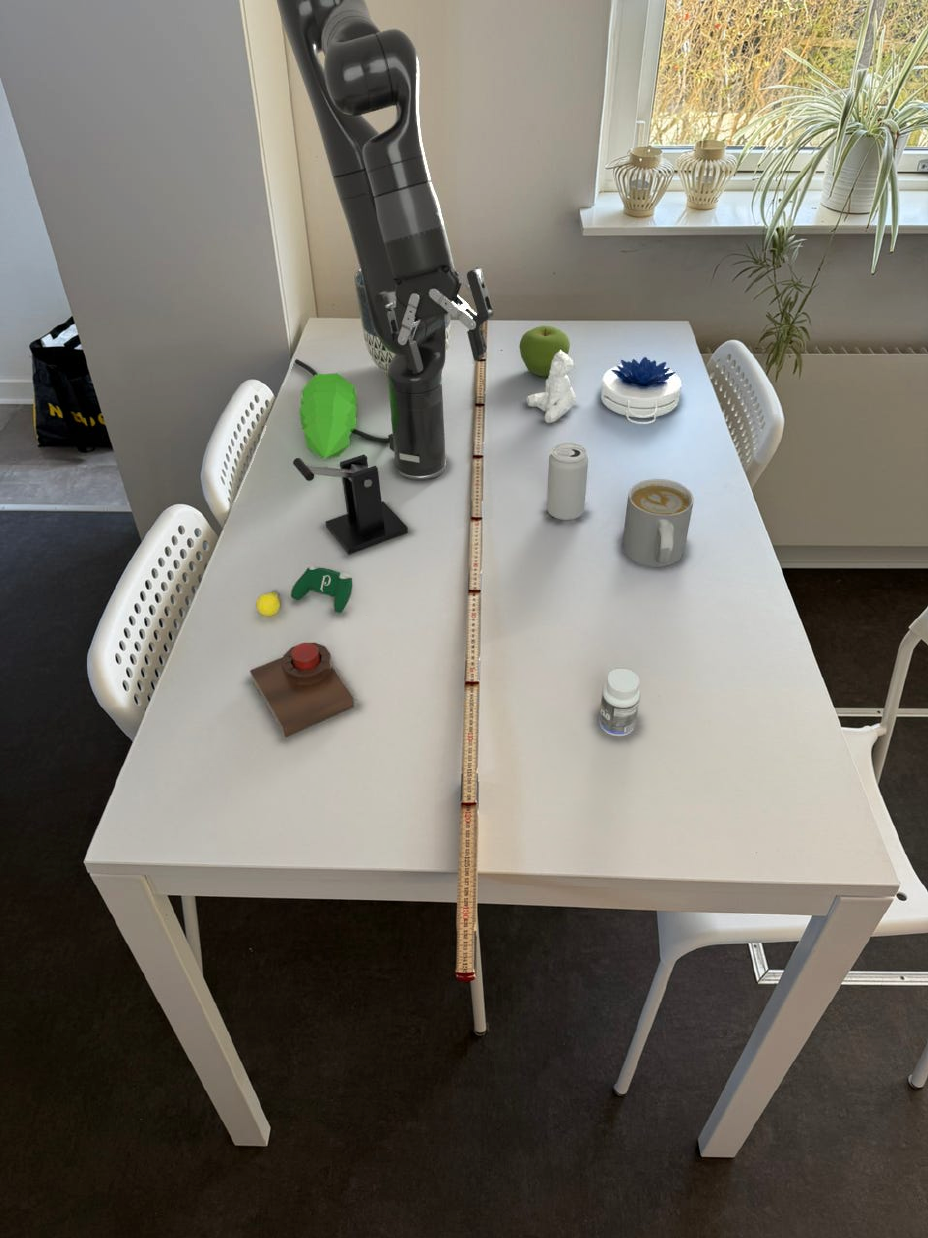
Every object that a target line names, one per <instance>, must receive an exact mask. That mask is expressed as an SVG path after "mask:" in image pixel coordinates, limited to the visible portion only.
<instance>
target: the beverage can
mask: <svg viewBox="0 0 928 1238" xmlns="http://www.w3.org/2000/svg"><path fill="white" fill-rule="evenodd" d="M588 467H589V457H588V455H587V449H586V448H585V447H584V446H583V445H580V444H579V443H578V444H577V443H572V442H564V443H559V444H557V445H555V446H554V447H552V449H551V452H550V455H549V457H548V470H547V471H548V473H547V496H546V511H547V513H548V514H549V515H550V516H551V517H553V518H554V519H557V520H559V521H573V520H575V519H577V518H579V517H581V516H582V515H583V514H584V512H585V508H586V494H587V482H588Z"/></svg>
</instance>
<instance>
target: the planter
mask: <svg viewBox="0 0 928 1238" xmlns="http://www.w3.org/2000/svg"><path fill="white" fill-rule="evenodd" d="M353 279H354V285H355V286H354V287H355V292H356V299H357V304H358V311H359V317H360V322H361V327H362V333H363V339H364V342H365V346H366V350H367V351H368V354H369V356H370V358H371V360H372V362H373V363H374V364H375V365H376V366H377V367H378V368H379V369H380V370H381V371H382V372H384V373H385V374H387V369H388V366H389V364H390V362H391V360H392V359H393V357H394V355H395V354H394V353H392V352H390V351H389V350H387V349H386V348H385V347H384V346H383V344H382V343H381V342H380V340H379V339H378V337H377V335H376V332H375V330H374V327H373V324H372V321H371V317H370V313H369V308H368V303H367V298H366V294H365V289H364V284H363V279H362V275H361V270H360V268H358V269H357V270H356V272H355V273H354V277H353ZM445 320H446V354H447V353H448V349H449V346H450V341H451V332H452V331H451V330H452V329H451V328H452V315H451V314H449V313H448V314H447V315H445Z"/></svg>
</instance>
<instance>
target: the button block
mask: <svg viewBox="0 0 928 1238" xmlns="http://www.w3.org/2000/svg"><path fill="white" fill-rule="evenodd" d="M302 643H303V642H302ZM302 643H300V644H302ZM310 643H311V644H314V645H315V646H316V647H317V648H318V652H319V657H320V661H319V663H318V665H317V666H316V667H314V668H312V669H310V670H299V669H297V668H296V667H295V666H294V664H293V660H292V655H291V653H292V650H293V649H294V648H295V647H296V646H297V645H298V644H297V645H293V646H291V647H290V648H289V649H288V650H287V651H286V652H285V653H284V654H283V655H282V657H279V658H277V659H275V660H272V661H270V662H267V663H265V664H262V665H259V666H257V667H254V668H252V669H250V670H249V672H250V675H251V679H252V682H253V683H254V686H255V687H256V689H257V691H258V692H259V694H260V696H261V697H262V700H263V701H264V703H265V705H266V706H267V709H268V710H269V711H270V714H271V716H272V717H273V719H274V720H275V722H276V724H277V725H278V727H279V730H280V731H281V732H282V734H283V736H284V737H285V738H288V737H289V736H292V735H295V734H297V733H298V732H301V731H303V730H306V729H308V728H311V727H312V726H314V725H315V726H316V725H317V724H319V723H321V722H324V721H326V720H328V719H330V718H333V717H335V716H337V715H340V714H341V713H344V712H346V711H348V710H351V709H354V708H355V702H354V697H353V695H352V693H351V691H350V690H349V689H348V687H347V686H346V684H345V683H344V682H343V680H342V678H341V677H340V675H339V673H338V672H337V671H336V669H335V667H333V660H332V655H331V653H330V651H329V650H328V648H327V647H326V645H322V644H320V643H317V642H310Z"/></svg>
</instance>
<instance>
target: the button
mask: <svg viewBox="0 0 928 1238" xmlns="http://www.w3.org/2000/svg"><path fill="white" fill-rule="evenodd" d="M311 643H312V642H302V644H301V643H298V644H297V646H296V645H295V646H296V647H295V648H294V649H293V650H292V653H291V655H292V660H293V664H294V666H295V667H296V668H297V669H299V670H310V669H312V668H314V667H316V666H317V665H318V663H319V661H320V657H319V652H318V648H317V647H316V646H315V645H314V644H311Z"/></svg>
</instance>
